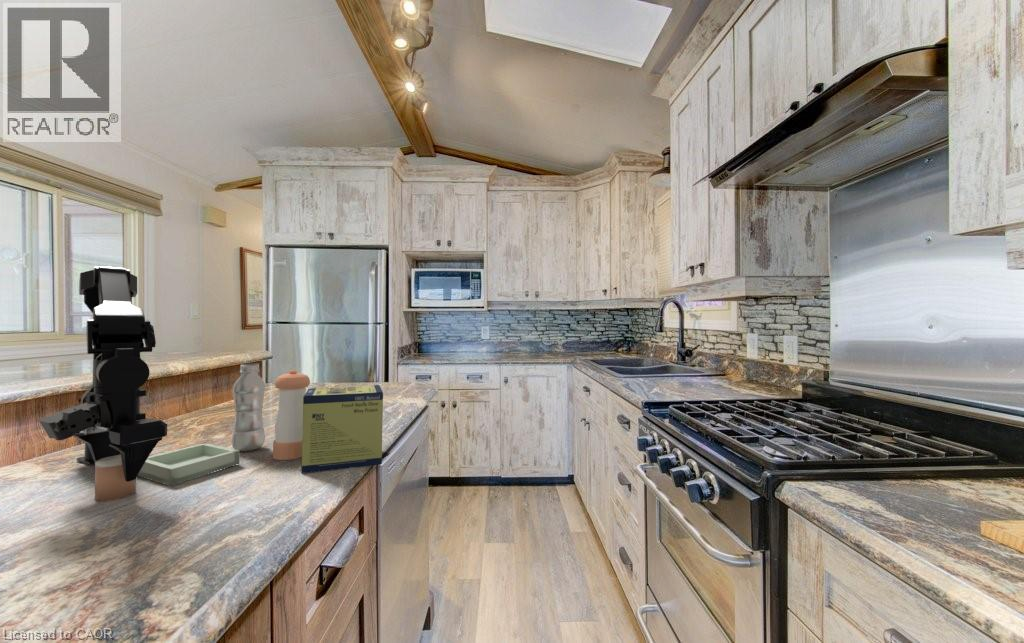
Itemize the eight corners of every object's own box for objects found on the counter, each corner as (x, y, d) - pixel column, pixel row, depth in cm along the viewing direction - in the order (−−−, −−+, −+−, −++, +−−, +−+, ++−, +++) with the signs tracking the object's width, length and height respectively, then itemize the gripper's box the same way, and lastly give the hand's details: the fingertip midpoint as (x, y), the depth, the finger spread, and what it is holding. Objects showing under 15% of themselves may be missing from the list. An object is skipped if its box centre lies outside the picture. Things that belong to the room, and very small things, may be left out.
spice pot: (88, 498, 67) (89, 461, 67) (127, 486, 71) (127, 452, 71) (103, 503, 65) (103, 465, 65) (142, 491, 69) (142, 456, 69)
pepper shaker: (298, 460, 86) (300, 372, 86) (265, 460, 86) (266, 371, 86) (315, 449, 93) (317, 368, 93) (285, 449, 93) (286, 368, 93)
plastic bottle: (271, 446, 95) (272, 363, 96) (250, 455, 89) (251, 366, 89) (246, 445, 96) (248, 362, 96) (223, 454, 89) (225, 365, 89)
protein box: (383, 464, 84) (384, 391, 84) (300, 474, 78) (301, 395, 78) (379, 450, 93) (380, 384, 94) (305, 458, 87) (306, 387, 88)
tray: (135, 475, 77) (136, 459, 77) (204, 456, 88) (205, 443, 88) (170, 485, 72) (171, 469, 72) (239, 464, 83) (239, 450, 83)
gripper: (23, 388, 64) (21, 484, 64) (77, 397, 57) (75, 506, 57) (114, 379, 75) (112, 462, 75) (169, 386, 67) (168, 479, 67)
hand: (116, 476), depth 68 cm, fingers open, 9 cm apart
